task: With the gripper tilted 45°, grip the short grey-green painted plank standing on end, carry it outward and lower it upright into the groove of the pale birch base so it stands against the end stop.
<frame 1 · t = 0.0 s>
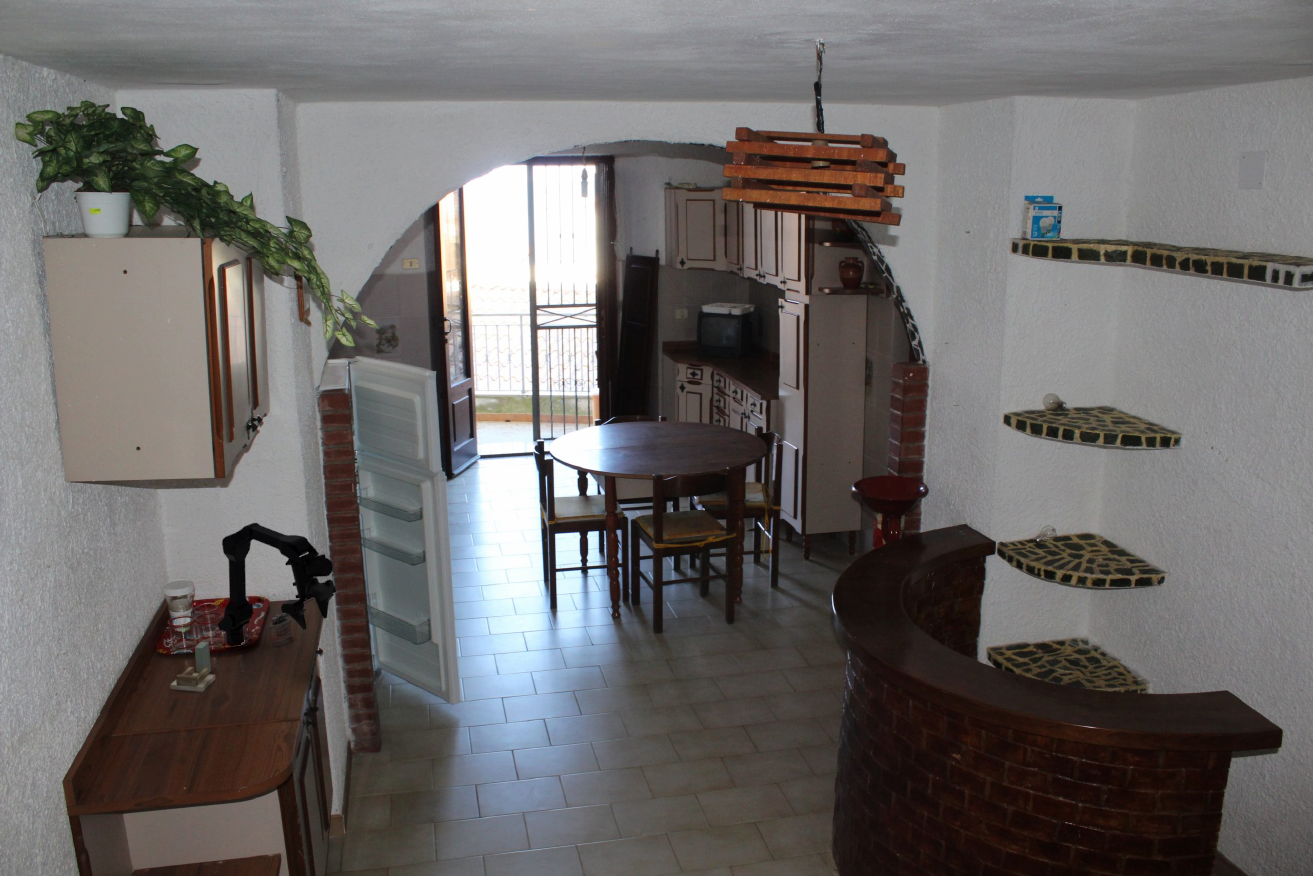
hand: (315, 623, 319), 15 cm above the table, tool pointing down, fingers open, 9 cm apart
lighter: (281, 642, 339), on the table
groove base: (193, 684, 310), on the table
plank: (203, 674, 316), on the table
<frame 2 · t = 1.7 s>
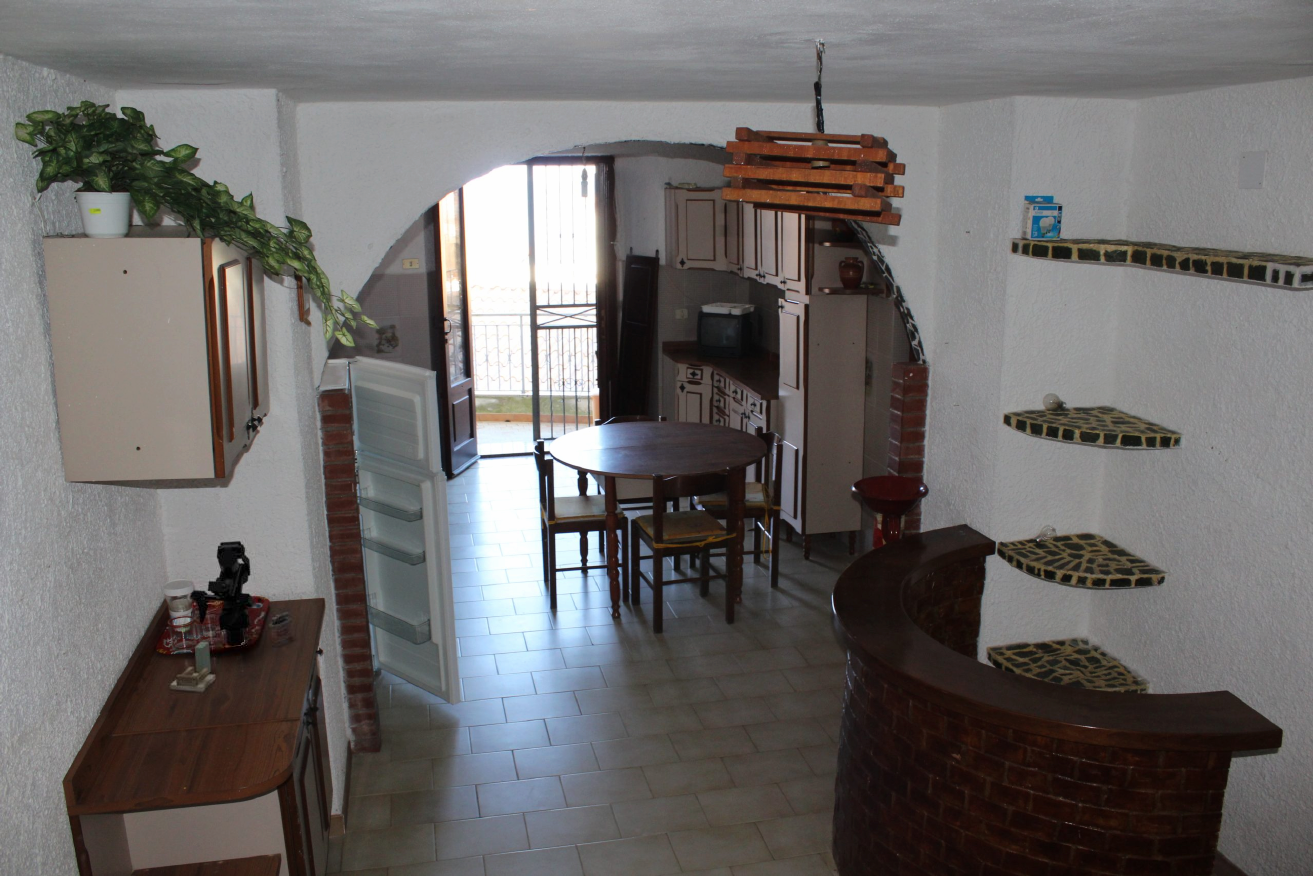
hand: (215, 624, 320), 13 cm above the table, tool tilted 45°, fingers open, 9 cm apart
nothing on the table moved.
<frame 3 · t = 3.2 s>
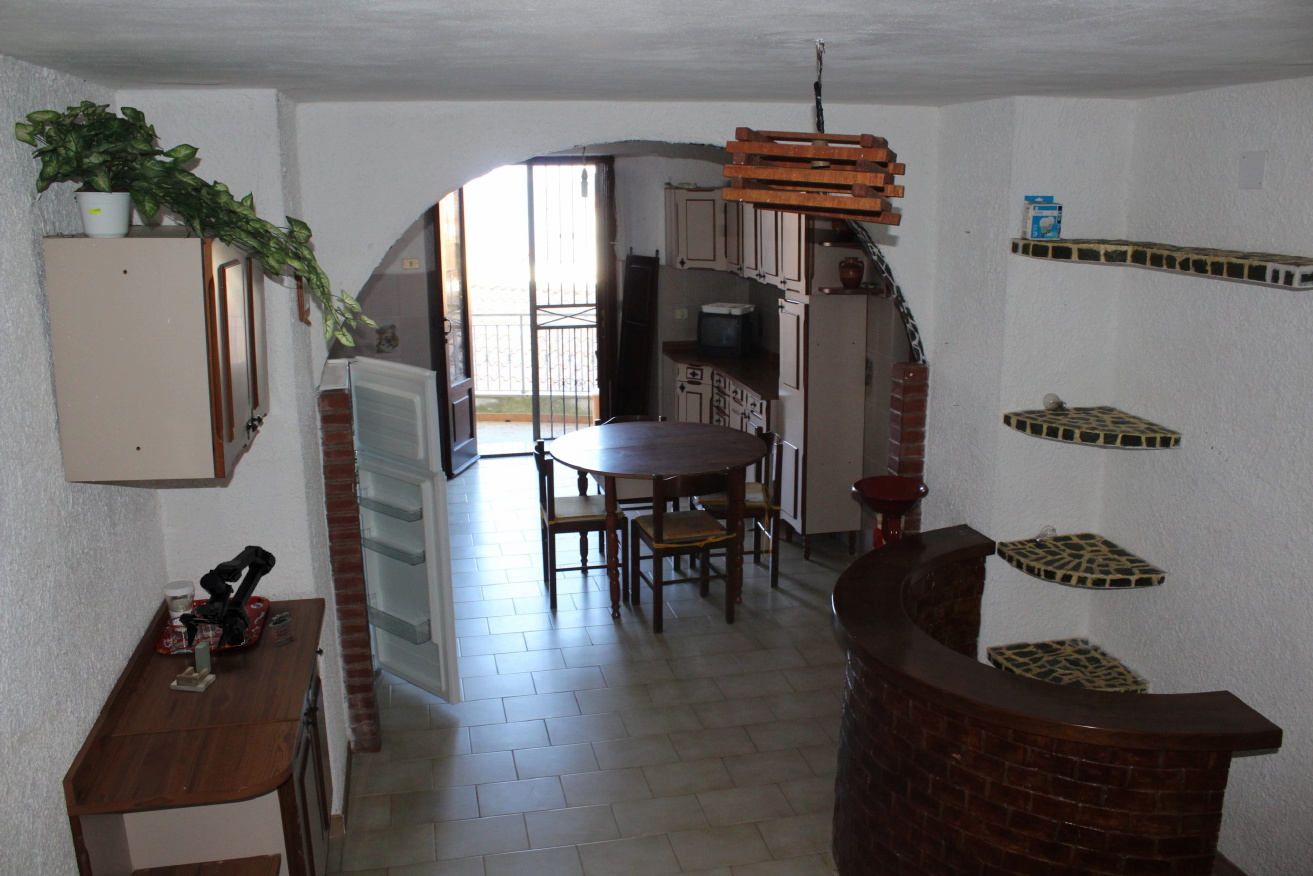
hand: (203, 648, 315), 8 cm above the table, tool tilted 45°, fingers open, 9 cm apart
nothing on the table moved.
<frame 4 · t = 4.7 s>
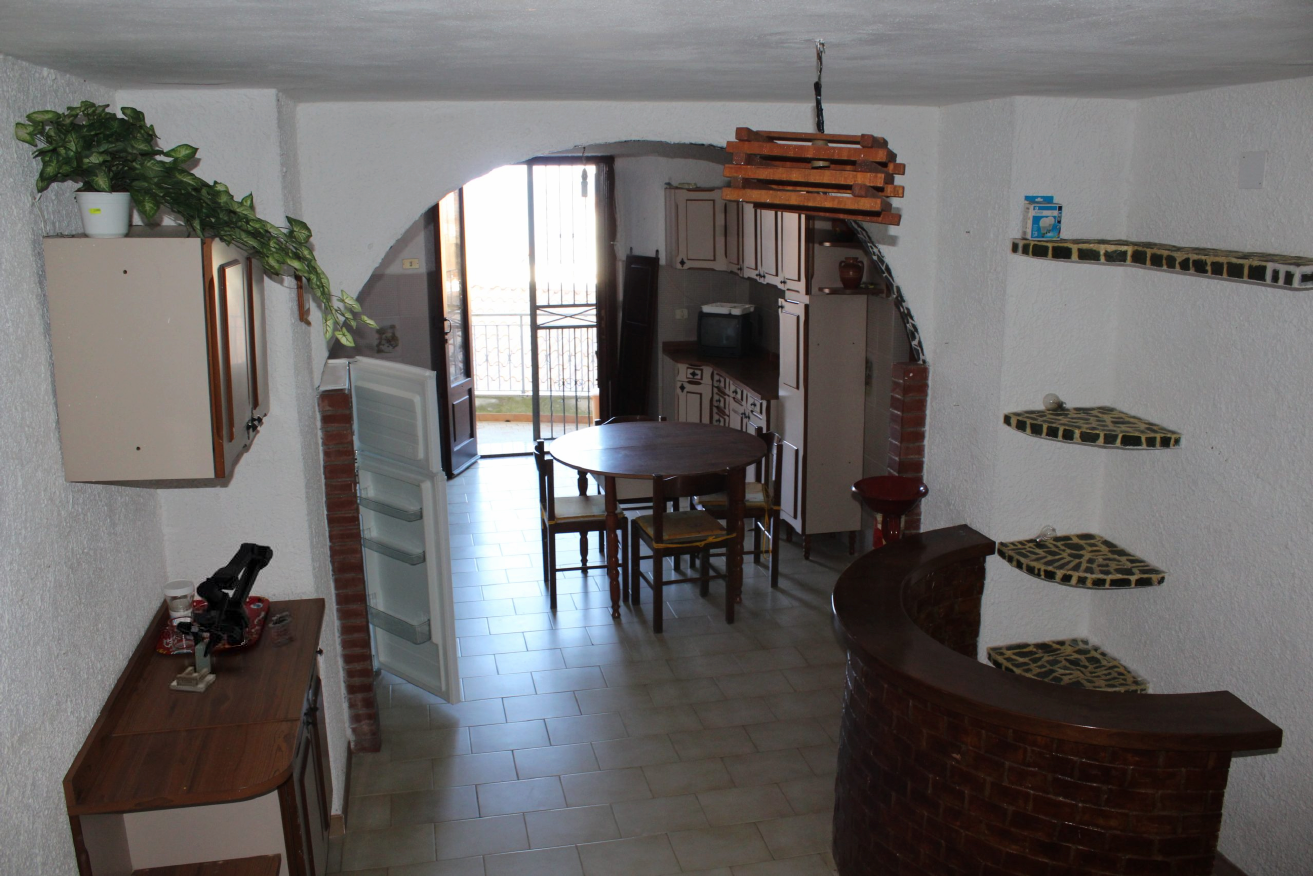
hand: (200, 656, 313), 7 cm above the table, tool tilted 45°, fingers closed on plank, 2 cm apart
plank: (203, 674, 316), on the table, touching gripper
everything else where it was.
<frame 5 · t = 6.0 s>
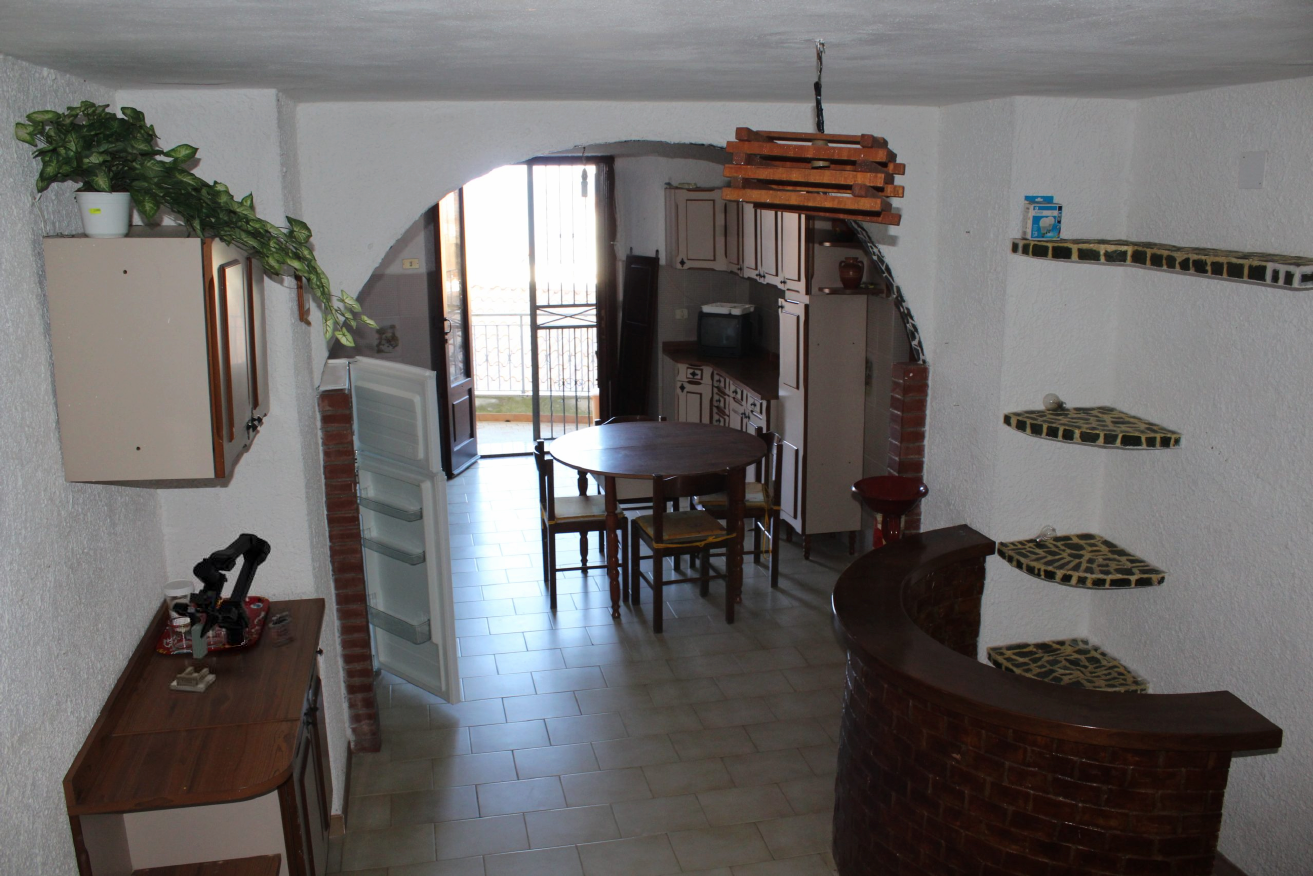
hand: (196, 637, 310), 14 cm above the table, tool tilted 45°, fingers closed on plank, 2 cm apart
plank: (200, 655, 313), point 7 cm above the table, touching gripper
everything else where it was.
when the fingers open (9 cm above the table, at t = 7.5 s): plank drops 1 cm, resting on groove base.
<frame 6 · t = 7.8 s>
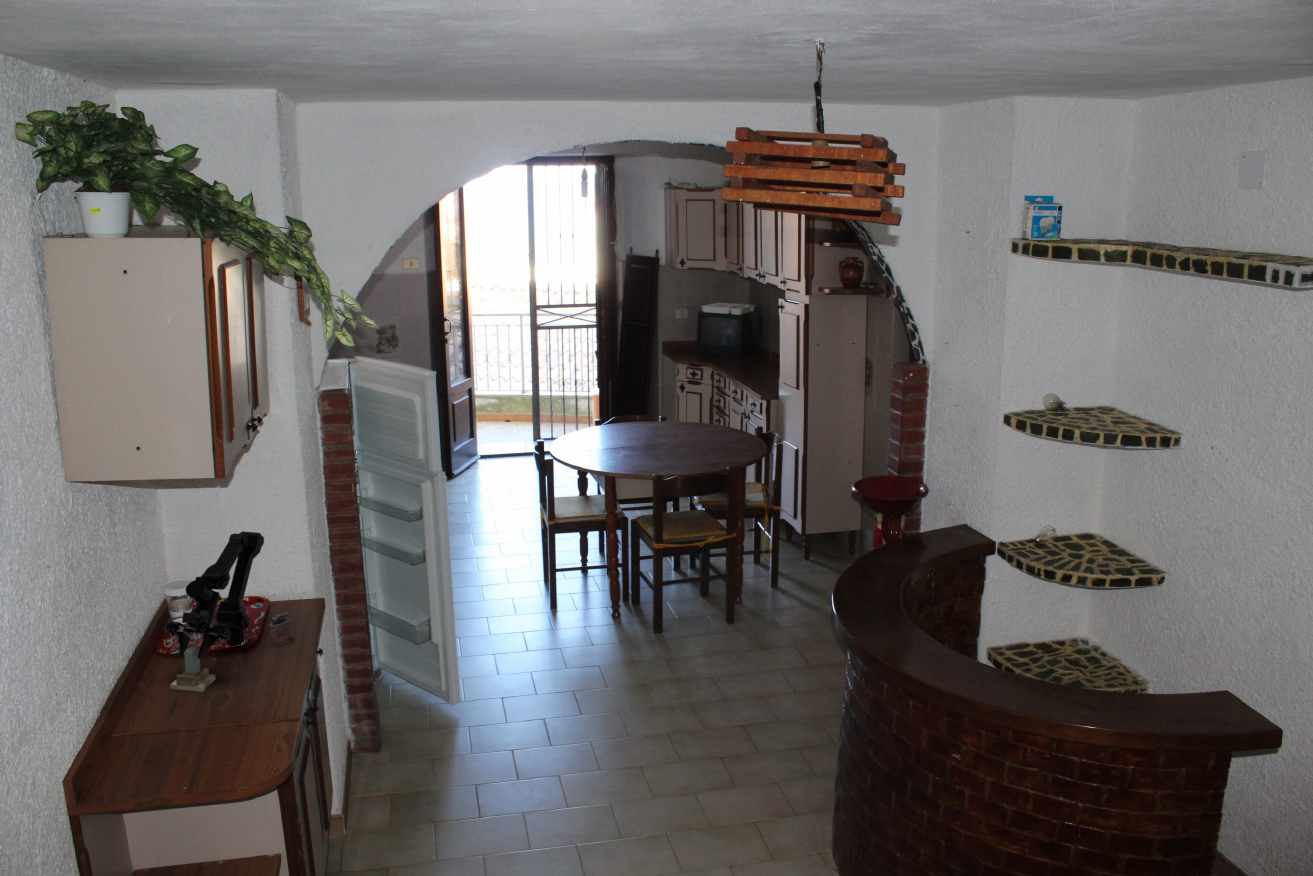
hand: (189, 657, 307), 9 cm above the table, tool tilted 45°, fingers open, 5 cm apart
plank: (193, 678, 310), point 1 cm above the table, touching groove base
everything else where it was.
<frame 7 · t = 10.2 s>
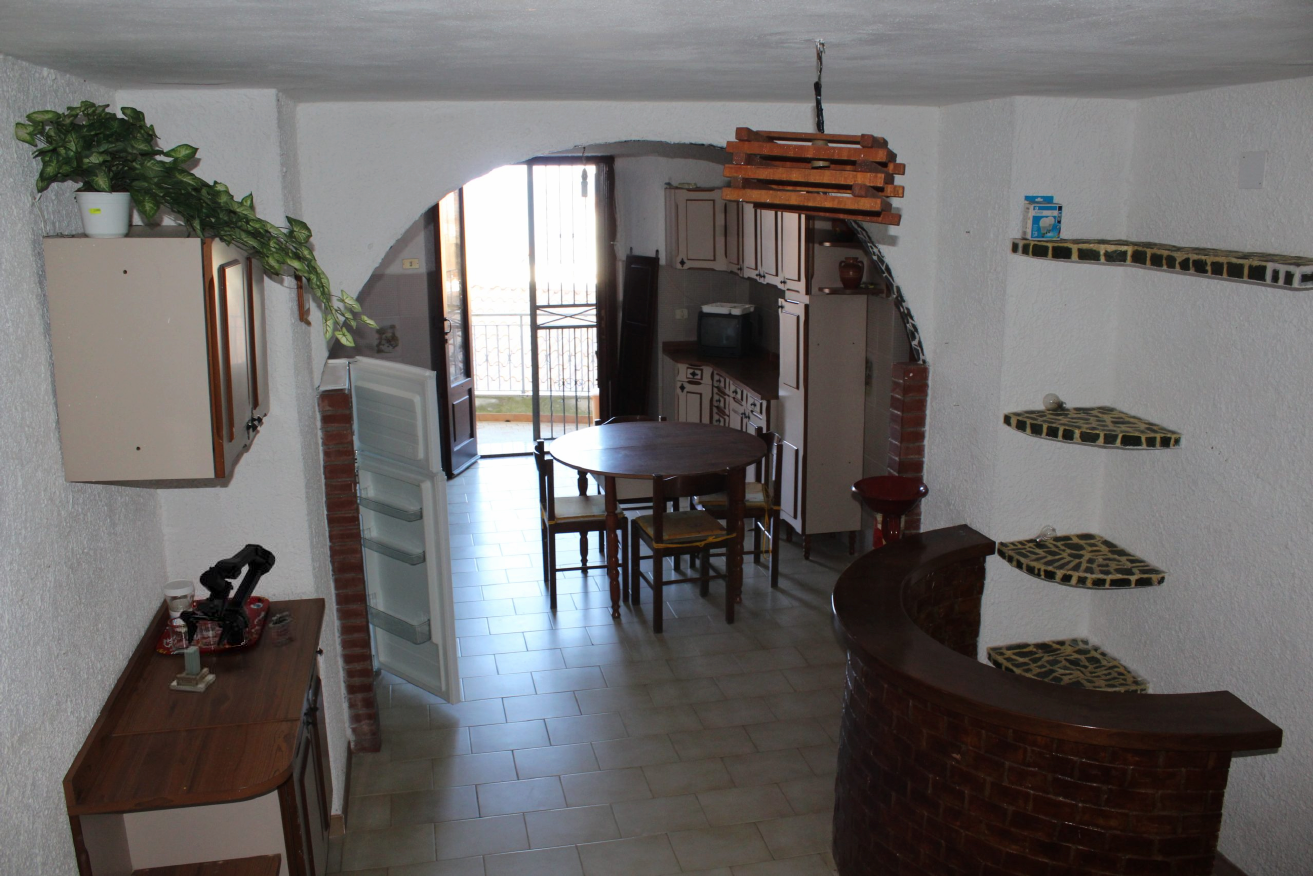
hand: (203, 645, 315), 9 cm above the table, tool tilted 45°, fingers open, 9 cm apart
nothing on the table moved.
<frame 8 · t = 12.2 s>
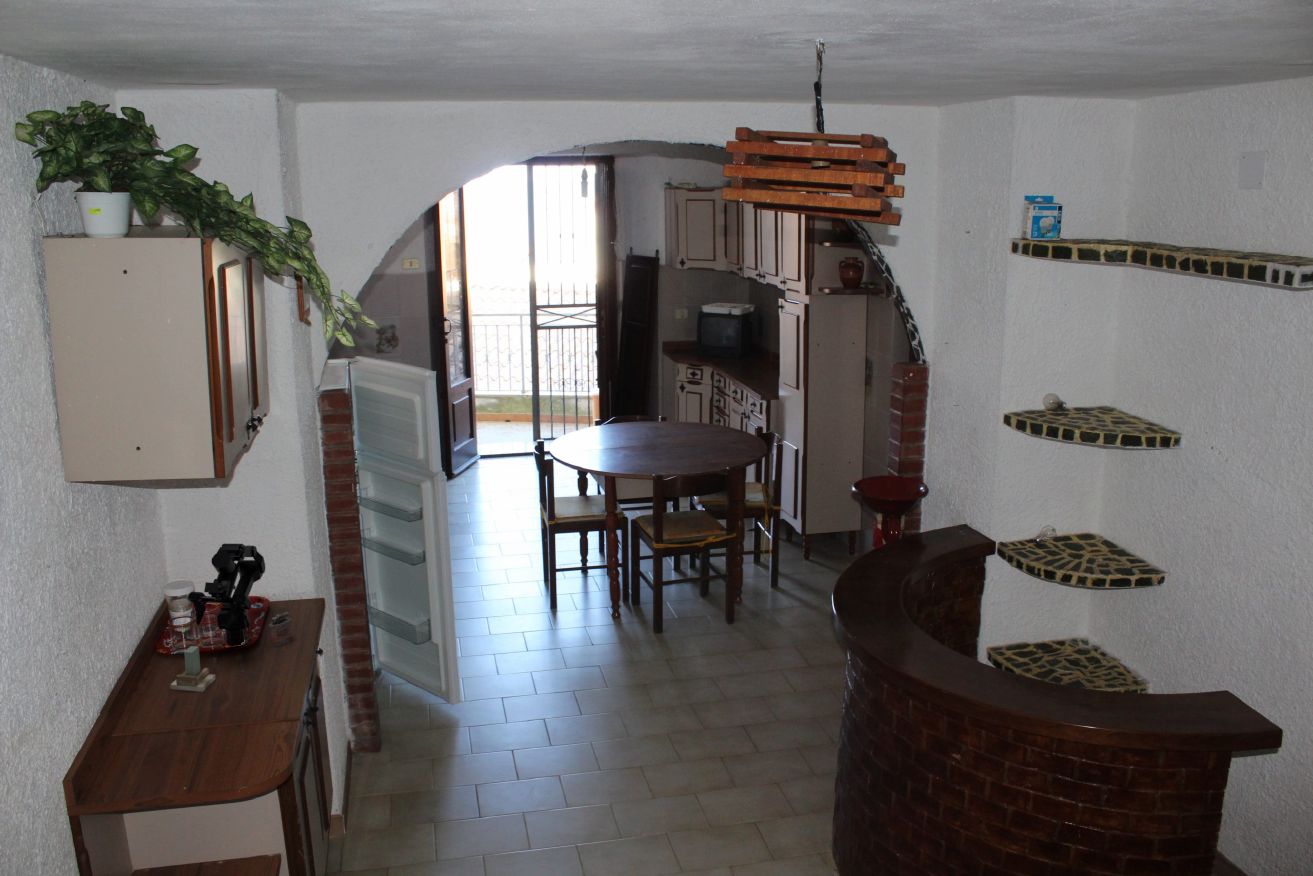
hand: (211, 626, 318), 14 cm above the table, tool tilted 45°, fingers open, 9 cm apart
nothing on the table moved.
at the end: plank 0.1 cm off-centre on the groove base, point 1.5 cm above the groove base's base; plank tilted 0°; the gripper is holding nothing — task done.
